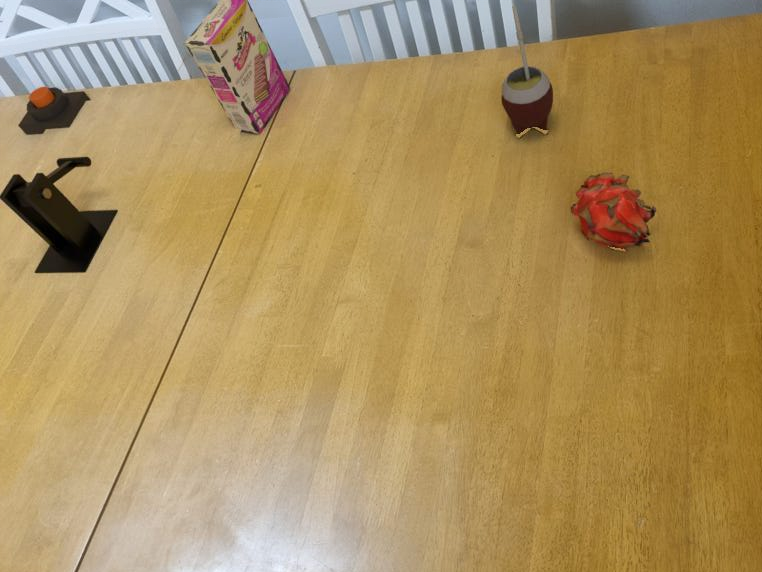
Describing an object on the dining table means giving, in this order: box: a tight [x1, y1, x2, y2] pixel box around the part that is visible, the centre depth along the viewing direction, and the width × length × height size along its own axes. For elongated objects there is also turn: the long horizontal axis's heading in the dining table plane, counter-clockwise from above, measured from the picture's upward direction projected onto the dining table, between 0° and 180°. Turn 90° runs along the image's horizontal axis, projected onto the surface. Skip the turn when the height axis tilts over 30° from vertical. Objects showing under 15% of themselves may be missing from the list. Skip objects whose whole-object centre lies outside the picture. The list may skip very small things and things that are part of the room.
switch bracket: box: [0, 172, 119, 274], centre depth 106 cm, size 12×9×13 cm
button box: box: [17, 86, 92, 136], centre depth 130 cm, size 10×8×4 cm
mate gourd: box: [501, 5, 554, 134], centre depth 99 cm, size 8×8×15 cm
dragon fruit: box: [570, 172, 657, 249], centre depth 88 cm, size 8×8×12 cm
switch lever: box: [13, 156, 92, 207], centre depth 106 cm, size 12×5×2 cm, turn 171°
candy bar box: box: [184, 0, 291, 135], centre depth 113 cm, size 11×5×16 cm, turn 160°
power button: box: [28, 86, 55, 108], centre depth 128 cm, size 4×4×2 cm
